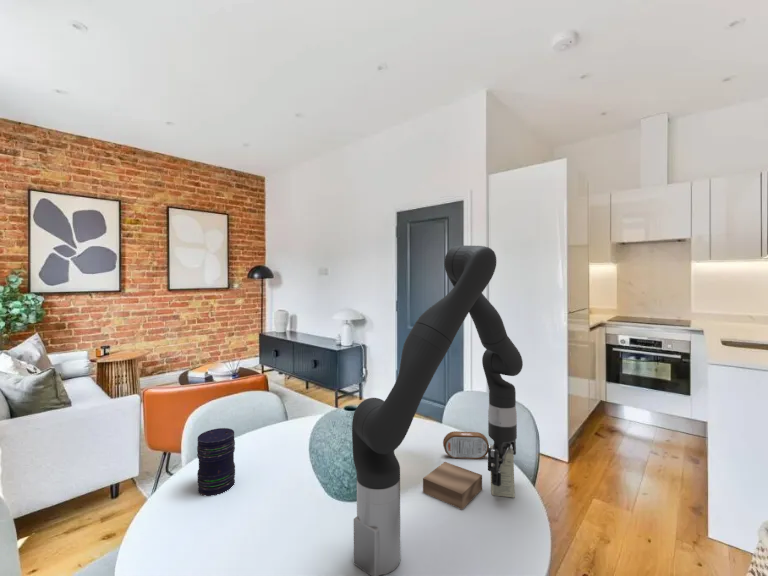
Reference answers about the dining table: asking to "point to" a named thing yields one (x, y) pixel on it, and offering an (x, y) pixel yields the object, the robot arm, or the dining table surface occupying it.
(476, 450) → the tin
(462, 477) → the walnut plinth
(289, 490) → the dining table surface
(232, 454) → the dark blue cylinder
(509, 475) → the skincare box
